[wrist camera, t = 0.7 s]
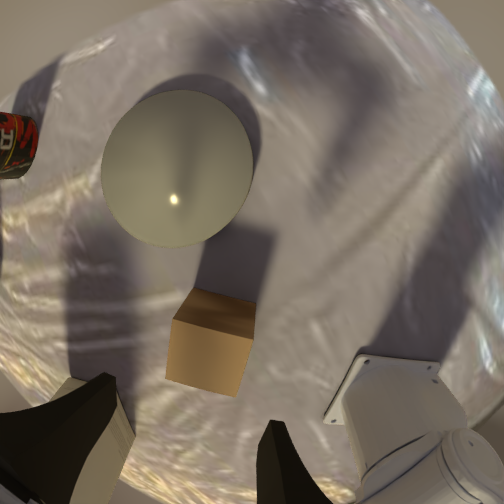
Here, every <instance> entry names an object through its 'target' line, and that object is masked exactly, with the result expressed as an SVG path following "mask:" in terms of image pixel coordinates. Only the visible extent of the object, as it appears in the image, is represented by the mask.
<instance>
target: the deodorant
mask: <svg viewBox="0 0 504 504" xmlns="http://www.w3.org/2000/svg"><path fill="white" fill-rule="evenodd" d="M37 143H38V130H37V126H36V123H35V121H34V120H33V119H32V118H31V117H27V116H21V115H16V114H11V113H5V112H0V179H15V178H20V177H22V176H23V175H24V174H25V173H26V172H27V171H28V169H29V168H30V166H31V164H32V162H33V160H34V157H35V154H36V150H37Z"/></svg>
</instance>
